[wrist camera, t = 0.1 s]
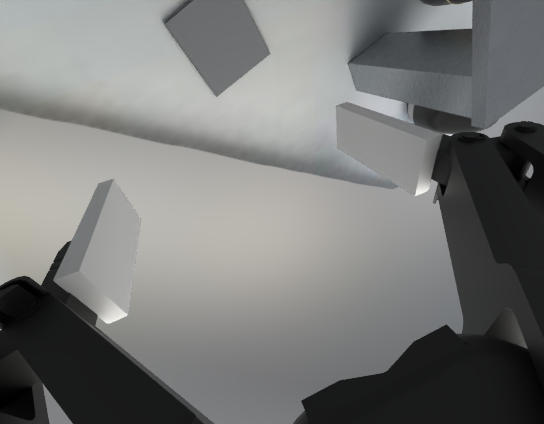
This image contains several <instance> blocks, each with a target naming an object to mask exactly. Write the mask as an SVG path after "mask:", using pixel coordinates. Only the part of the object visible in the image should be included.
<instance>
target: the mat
mask: <svg viewBox="0 0 544 424" xmlns="http://www.w3.org/2000/svg"><path fill="white" fill-rule="evenodd" d="M165 26H166V27H167V29H168V30H169V31H170V33H171V34H172V36H173V37H174V38H175V40H176V41H177V43H178V44H179V45H180V47H181V48H182V50H183V51H184V52H185V54H186V55H187V56H188V58H189V59H190V61H191V62H192V63H193V65H194V66H195V68H196V69H197V70H198V72H199V73H200V75H201V76H202V77H203V79H204V80H205V81H206V83H207V84H208V86H209V87H210V88H211V90H212V91H213V93H214V94H215V95H216V96H218V95H220V94H221V93H222V92H223V91H225V90H226V89H227V88H228V87H230V86H231V85H232V84H233V83H235V82H236V81H237V80H238V79H239V78H241V77H242V76H243V75H244V74H246V73H247V72H248V71H249V70H251V69H252V68H253V67H254V66H256V65H257V64H258V63H259V62H261V61H262V60H263V59H264V58H266V57H267V56H268V55H269V54H270V52H269V50H268V48H267V46H266V44H265V42H264V40H263V38H262V36H261V34H260V32H259V30H258V28H257V26H256V24H255V22H254V20H253V18H252V16H251V14H250V12H249V10H248V8H247V6H246V4H245V2H244V0H193V1H192V2H191V3H189V4H188V5H187V6H186V7H185V8H183V9H182V10H181V11H180V12H179V13H178V14H176V15H175V16H174V17H173V18H172V19H170V20H169V21H168V22H167V23H166V24H165Z"/></svg>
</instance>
